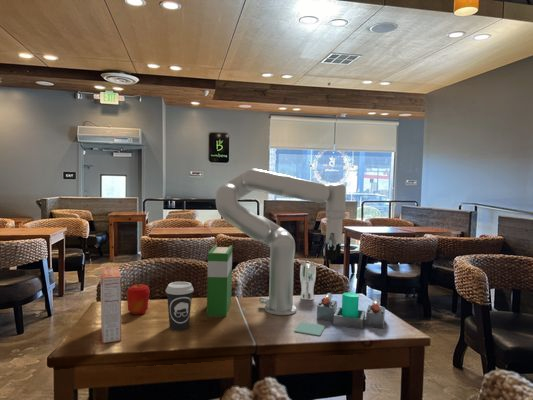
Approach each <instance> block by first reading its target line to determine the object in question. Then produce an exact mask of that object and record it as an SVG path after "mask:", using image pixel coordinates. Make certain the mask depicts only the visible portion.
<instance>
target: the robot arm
mask: <svg viewBox="0 0 533 400" xmlns="http://www.w3.org/2000/svg"><path fill="white" fill-rule="evenodd" d="M253 191H255V192H259V193H265V194H269V195H273V196H274V195H275V196H280V197H284V198H293V199H297V200H304V201H308V202H313V203H315V204H316V203H319V204H322V203H325V202H326V203H325V219H327V220H326V229H325V244H328V245H327V261H336V260H337V256H339V257H341V255H342V252H341V251H342V243H341V242H342V240H343V220H345V219H346V197H347V187H346V185H345V184H342V183H329V184H328V183H327V184H324V183H321V182H316V181H313V180H307V179H302V178H297V177H294V176H292V175H287V174H283V173H277V172H274V171H269V170H268V171H267V170H263V169H260V168H259V169H258V168H248V169H246V170H245V171H244V172H242V173H240V174H239V175H237V176H236V177H234V178H232V179H230V180H229V181H227V182H225V183H224V184H222V185H220V186H219V187H218V188H217V190H216V192H215V207H216V210H217V212H218V214H219V216H220V217H221V218H222V219H223V220H224V221H225V222H226V223H228V224H230V225H231V226H232V227H235V229H237V230H239V231H240V232H242V233H243V234H246V235H247V236H248V237H250V238H251V239H252V240H254V241H257V242H262V243H263V244H265V245H267V246H268V247H269V249H270V252H269V253H270V254H269V255H270V256H269V284H268V285H269V286H268V287H269V289H268V297H263V296H260V297H259V299H258V300H259V302H260V304H265V306H264V310H265V312H266V313H268V314H271V315H275V316H288V315H293V314H295V313H296V312H297V307H296V306H295V305H294V304H293V301H294V268H295V267H294V263H295V253H296V242H295V239H294V237H293V236H292V234H291V233H290V231H288V230H287V229H285V228H283V227H281V226H280V225H278V224H277V223H276V222H273V221H272V220H271V219H268V218H267V217H265V216H264V215H257V214H255V213H254V212H252V211H250V210H249V208H247V207H244V206H243V205H241V204H240V202H239V201H238V200H240V199H242V198H243V197H245V196H246V195H248V194H250V193H252V192H253Z"/></svg>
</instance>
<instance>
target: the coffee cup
mask: <svg viewBox="0 0 533 400" xmlns="http://www.w3.org/2000/svg"><path fill="white" fill-rule="evenodd" d="M194 291H195V289H194V287H193V285H192V283H191V282H187V281H174V282H173V281H172V282H170V283H169V284H167V287H166V288H165V293H166V297H167V298H166V299H167V309H168V310H167V311H168V323H169V324H168V326H169V329H170V331H176V332H181V331H185V330H187V329H189V327H190V319H191V318H190V317H191V309H192V299H193V292H194Z"/></svg>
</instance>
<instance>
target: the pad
mask: <svg viewBox="0 0 533 400" xmlns="http://www.w3.org/2000/svg"><path fill="white" fill-rule="evenodd" d="M325 328H326V325H324V324H323V325H322V324H317V323H311V322H310V323H309V322H304V321H300V323H299V324H298V325H297V327H296V328H295V329H294V330H293V332H294V333H298V334H305V335H311V336H316V337H321V334H323V331H324V329H325Z"/></svg>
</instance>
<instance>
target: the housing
mask: <svg viewBox="0 0 533 400" xmlns="http://www.w3.org/2000/svg"><path fill="white" fill-rule="evenodd" d="M322 299H323V298H321V299H320V301H319V302H318V304H317V306H316V320H321V321H322V320H323V321H328V322H333V326H339V327H345V328H350V329H357V330H363V327H368V328H375V329H376V328H377V329H382V330H383V329H384V325H385V315H386V311H385V310H386V307H385V306H380V310H379V312H377V313H374V312H373V311H372V310H371V306H372V304H368V306H367V309H366V310H364V309H363V310H362V309H358V318H354V317H347V316H342V306H341V307H340V306H338V300H335V299H334V300H332V299H331V301H330V303H329V305H327V306H324V305H323V304H322Z"/></svg>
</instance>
